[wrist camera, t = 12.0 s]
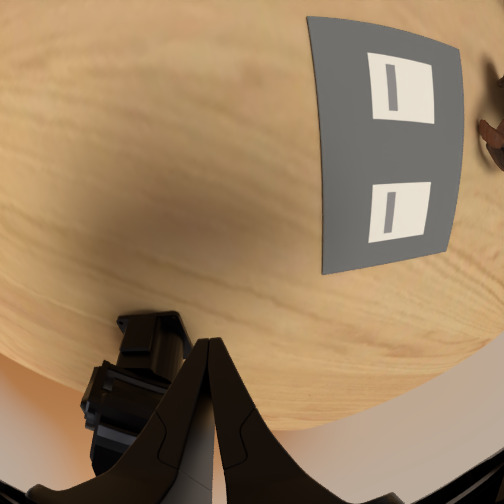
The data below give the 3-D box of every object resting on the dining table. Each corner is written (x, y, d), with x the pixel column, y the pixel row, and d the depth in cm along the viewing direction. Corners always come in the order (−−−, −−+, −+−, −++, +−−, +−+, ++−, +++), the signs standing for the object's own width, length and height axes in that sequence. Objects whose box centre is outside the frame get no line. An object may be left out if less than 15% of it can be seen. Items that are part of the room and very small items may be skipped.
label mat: (445, 250, 22) (446, 251, 22) (321, 273, 22) (322, 275, 22) (457, 49, 12) (459, 49, 12) (306, 16, 12) (307, 16, 12)
